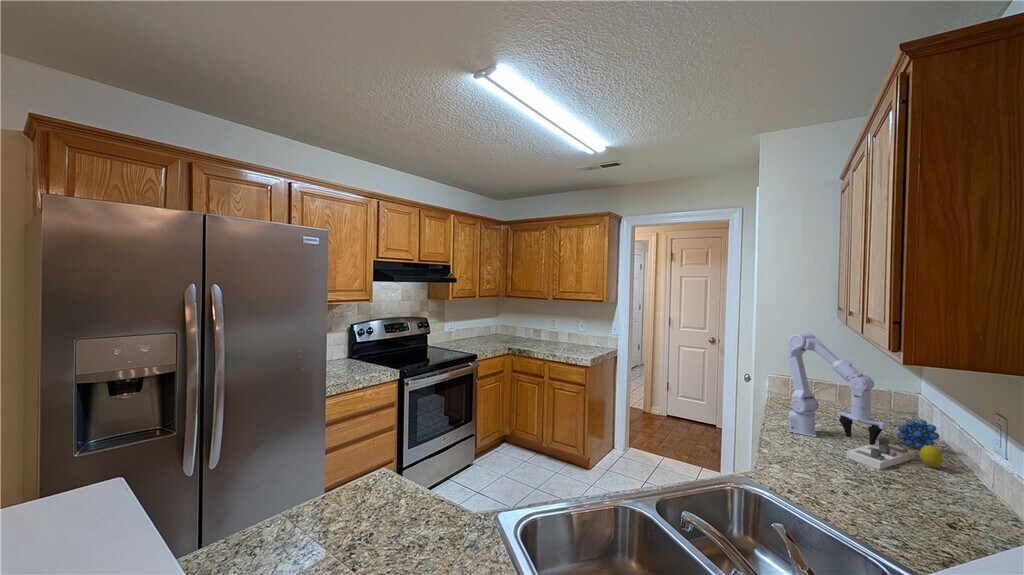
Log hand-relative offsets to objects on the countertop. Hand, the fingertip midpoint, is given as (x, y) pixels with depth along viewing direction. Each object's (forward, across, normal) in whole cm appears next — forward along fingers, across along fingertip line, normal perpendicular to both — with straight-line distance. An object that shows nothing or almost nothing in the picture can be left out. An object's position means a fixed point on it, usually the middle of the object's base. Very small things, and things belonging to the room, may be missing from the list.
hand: (860, 440), depth 148 cm
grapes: (+4, +7, +25) cm, 26 cm away
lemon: (+4, +17, +8) cm, 19 cm away
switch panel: (+4, +6, 0) cm, 8 cm away
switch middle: (+2, +8, 0) cm, 8 cm away
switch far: (+1, +4, +8) cm, 9 cm away
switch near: (+1, +8, -8) cm, 12 cm away
